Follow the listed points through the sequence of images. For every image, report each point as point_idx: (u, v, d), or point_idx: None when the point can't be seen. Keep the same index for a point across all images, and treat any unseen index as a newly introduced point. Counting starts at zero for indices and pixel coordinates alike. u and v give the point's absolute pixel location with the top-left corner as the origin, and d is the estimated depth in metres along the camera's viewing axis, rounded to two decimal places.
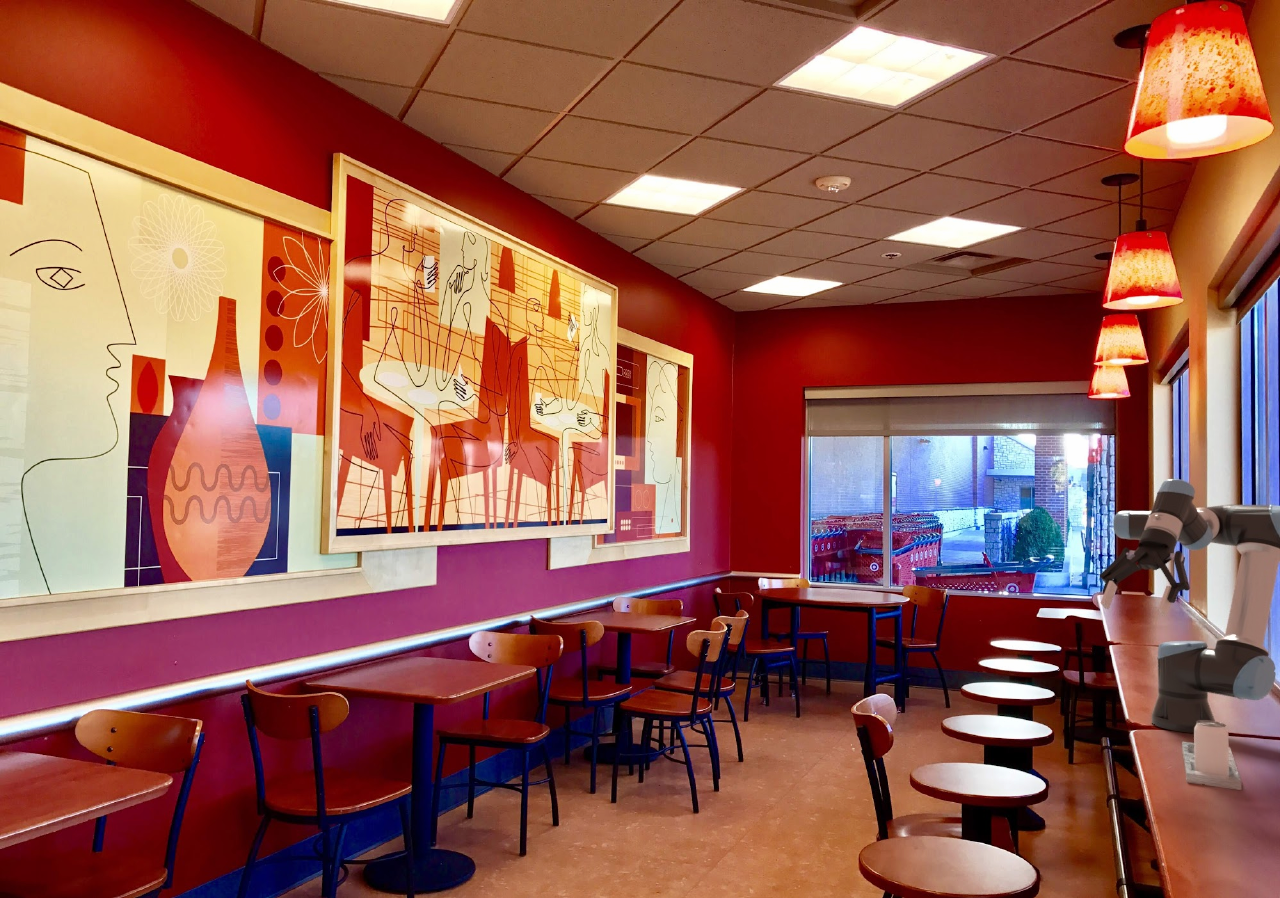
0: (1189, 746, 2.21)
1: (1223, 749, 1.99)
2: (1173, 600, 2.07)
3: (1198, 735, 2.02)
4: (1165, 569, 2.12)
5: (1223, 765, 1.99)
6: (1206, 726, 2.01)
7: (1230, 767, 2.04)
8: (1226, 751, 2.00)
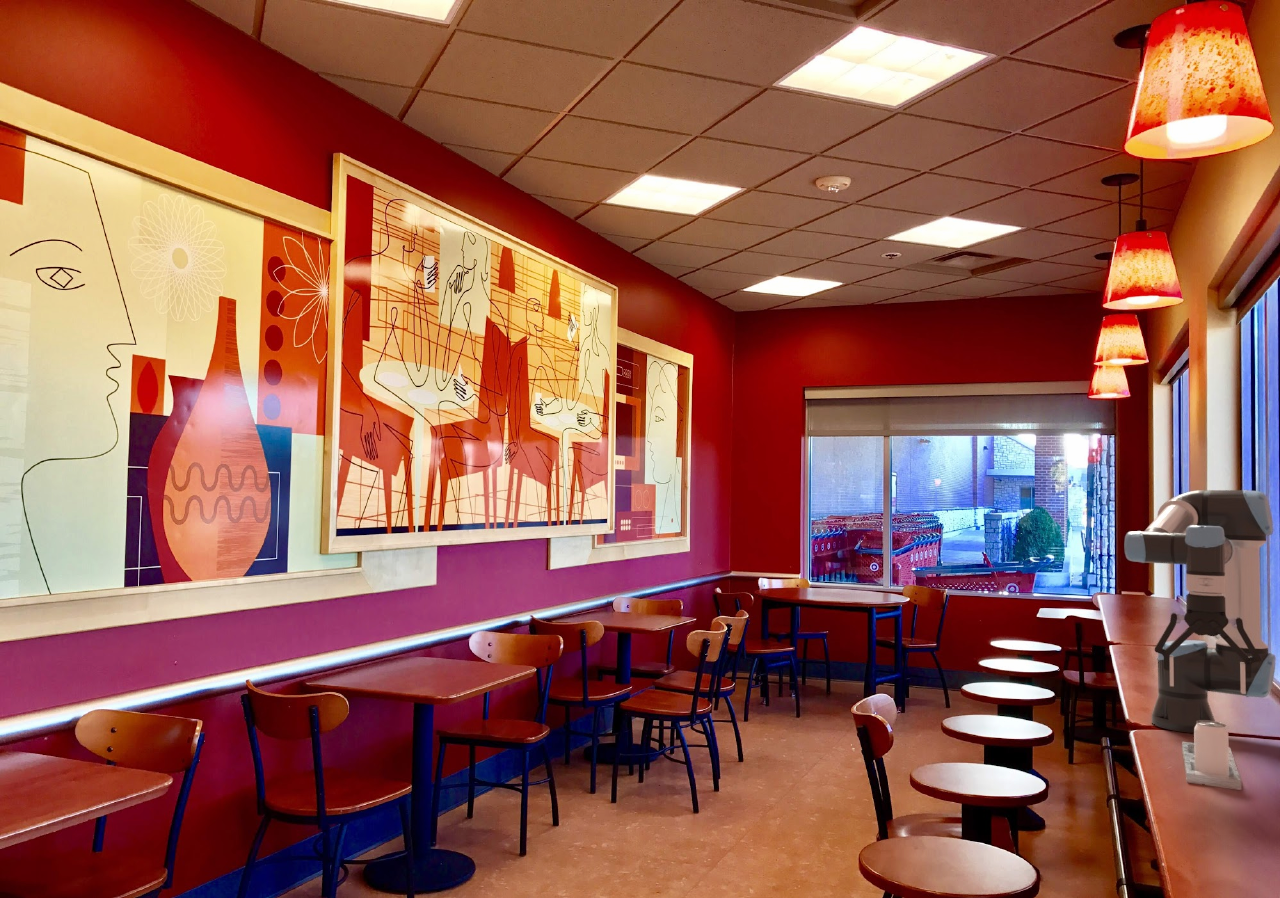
0: (1189, 746, 2.21)
1: (1223, 749, 1.99)
2: None
3: (1198, 735, 2.02)
4: (1231, 642, 2.01)
5: (1223, 765, 1.99)
6: (1206, 726, 2.01)
7: (1230, 767, 2.04)
8: (1226, 751, 2.00)
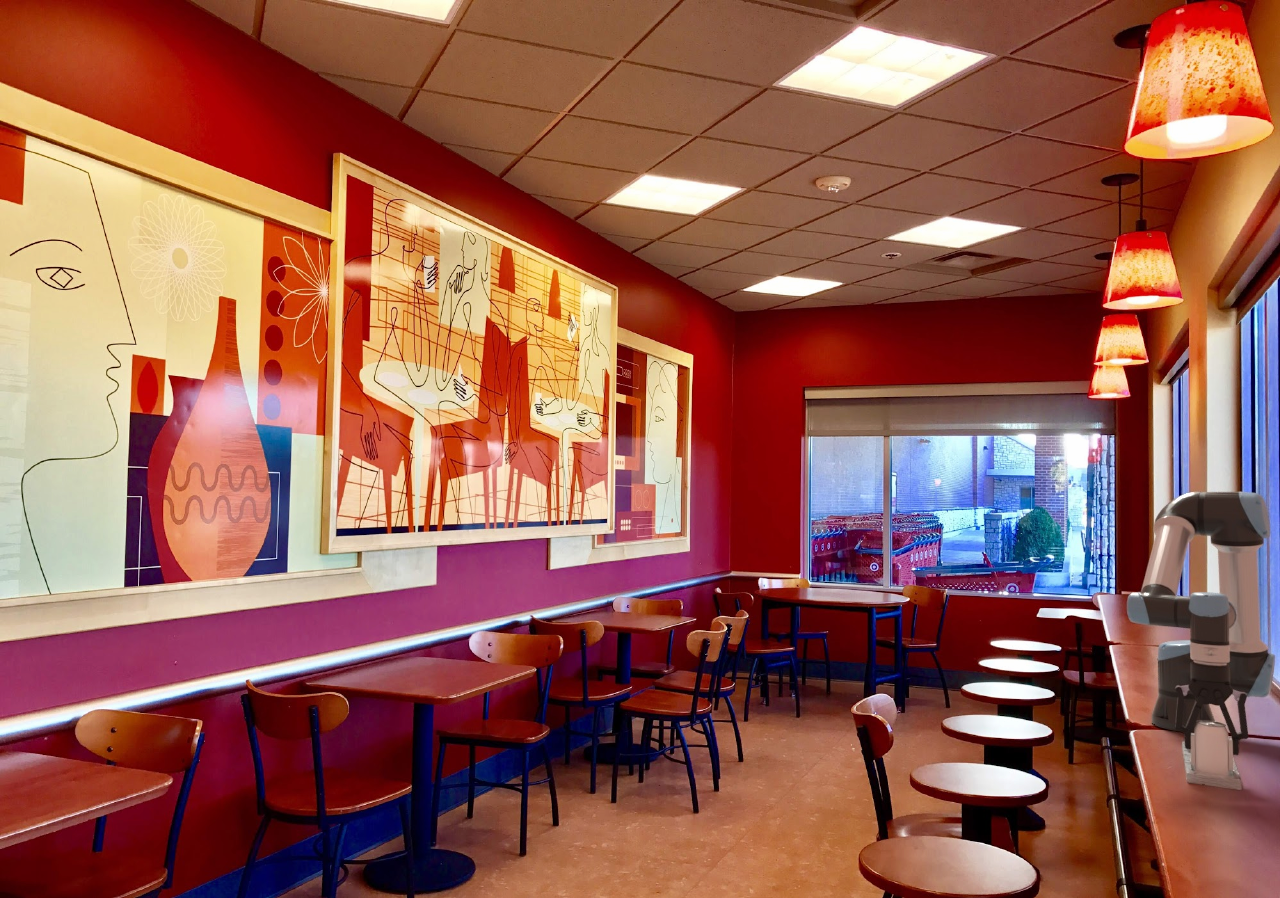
0: None
1: (1223, 749, 1.99)
2: None
3: (1198, 735, 2.02)
4: (1227, 716, 2.00)
5: (1223, 765, 1.99)
6: (1206, 726, 2.01)
7: None
8: (1226, 751, 2.00)
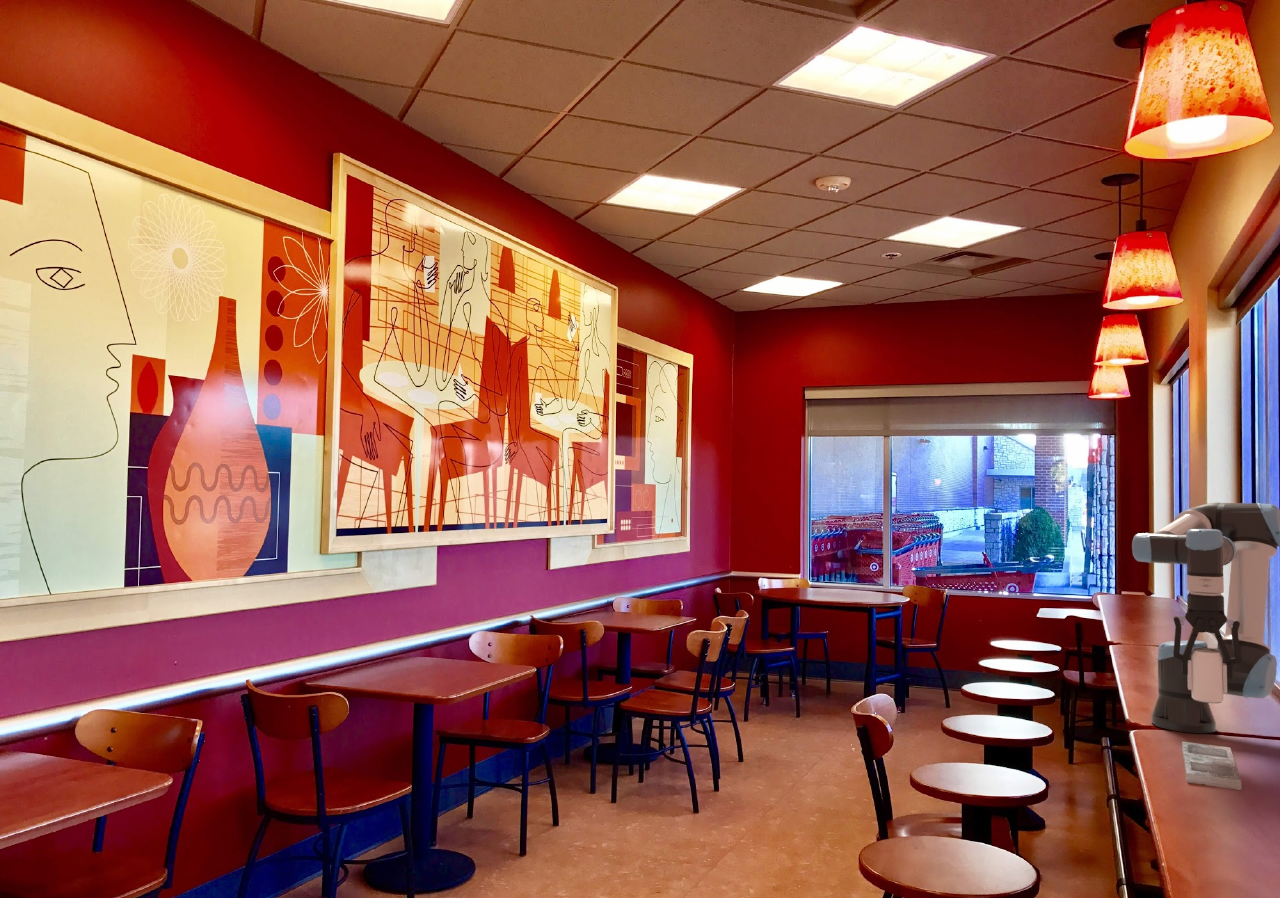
0: (1189, 746, 2.21)
1: (1218, 673, 2.14)
2: (1231, 677, 2.15)
3: (1194, 660, 2.17)
4: (1222, 642, 2.15)
5: (1218, 687, 2.14)
6: (1202, 652, 2.15)
7: (1230, 767, 2.04)
8: (1221, 675, 2.14)
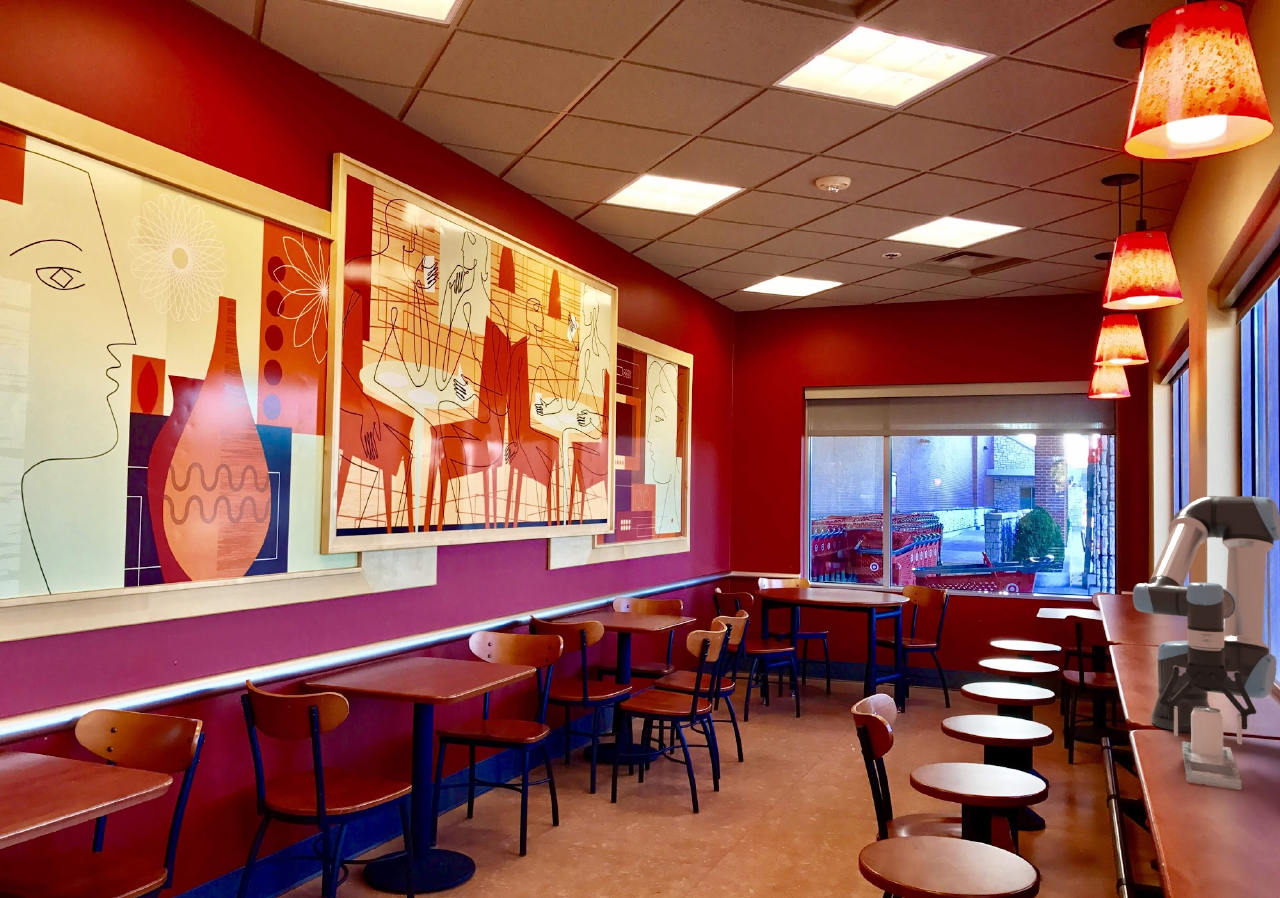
0: (1189, 746, 2.21)
1: (1218, 733, 2.13)
2: None
3: (1194, 719, 2.16)
4: (1229, 695, 2.14)
5: (1218, 748, 2.13)
6: (1202, 711, 2.15)
7: (1230, 767, 2.04)
8: (1221, 735, 2.14)
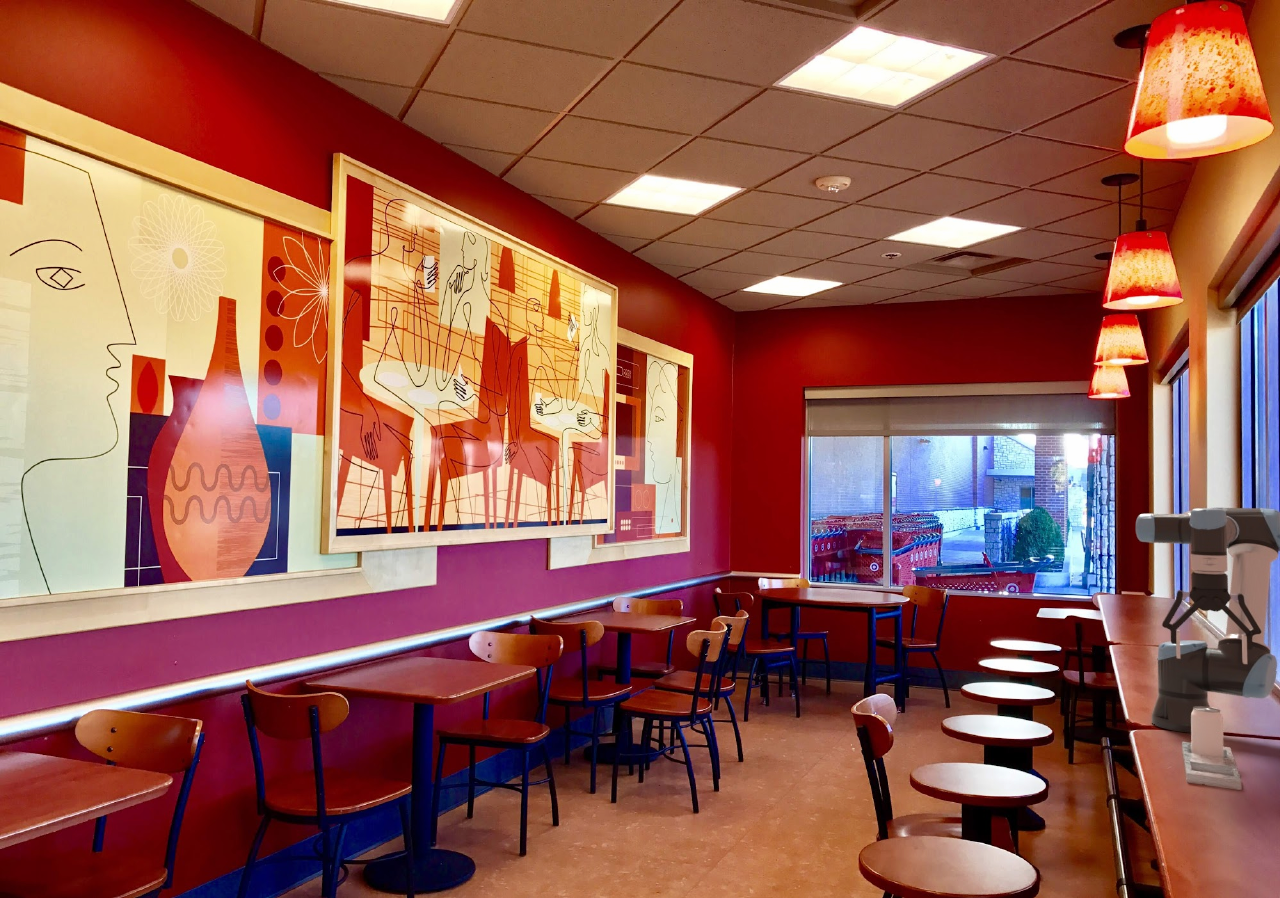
0: (1189, 746, 2.21)
1: (1218, 733, 2.13)
2: (1251, 648, 2.15)
3: (1194, 719, 2.16)
4: (1234, 616, 2.16)
5: (1218, 748, 2.13)
6: (1202, 711, 2.15)
7: (1230, 767, 2.04)
8: (1221, 735, 2.14)
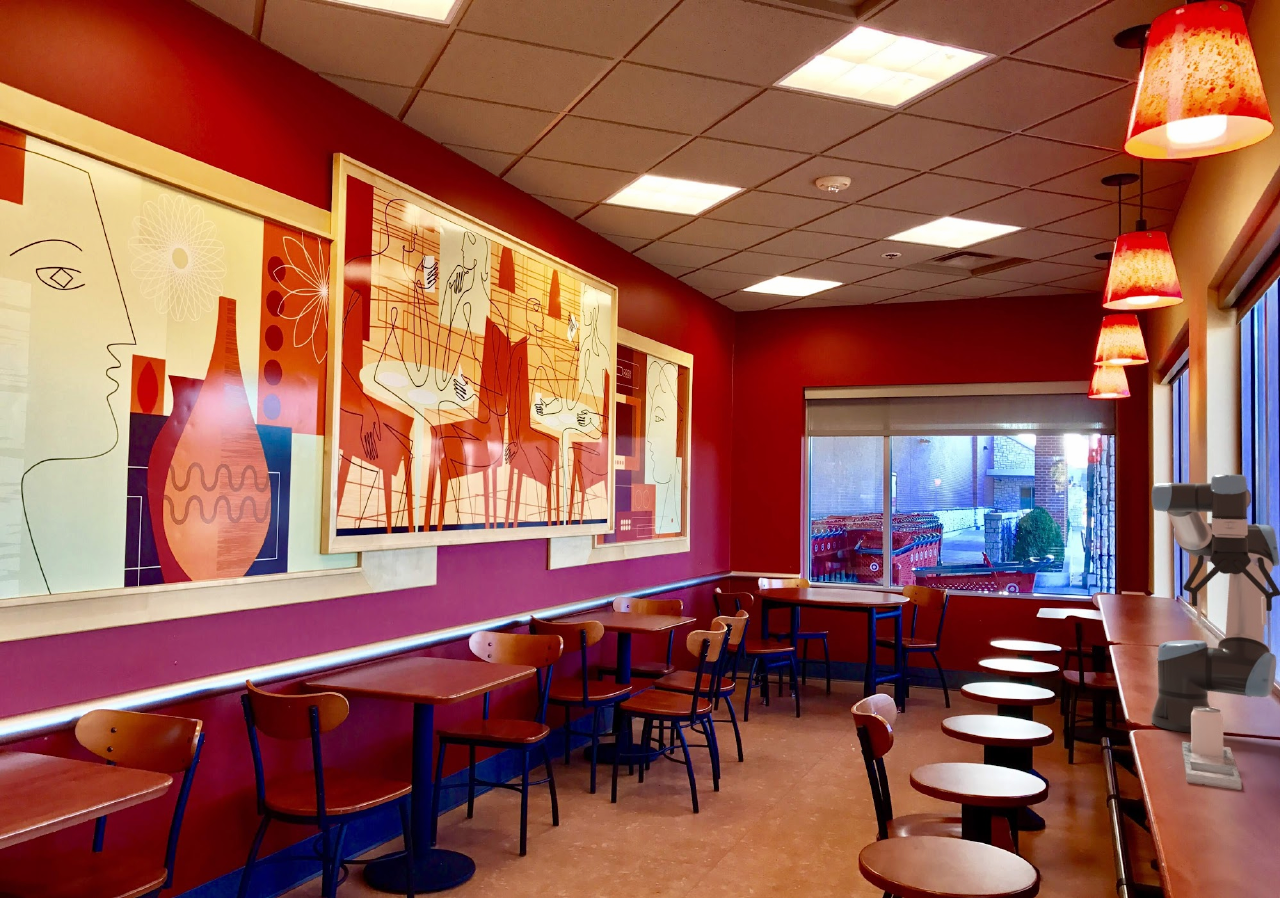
0: (1189, 746, 2.21)
1: (1218, 733, 2.13)
2: (1270, 609, 2.21)
3: (1194, 719, 2.16)
4: (1254, 579, 2.22)
5: (1218, 748, 2.13)
6: (1202, 711, 2.15)
7: (1230, 767, 2.04)
8: (1221, 735, 2.14)
